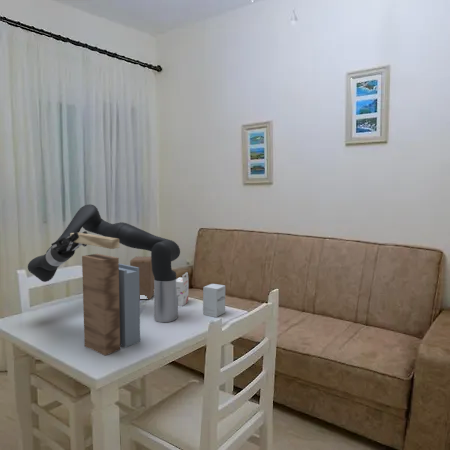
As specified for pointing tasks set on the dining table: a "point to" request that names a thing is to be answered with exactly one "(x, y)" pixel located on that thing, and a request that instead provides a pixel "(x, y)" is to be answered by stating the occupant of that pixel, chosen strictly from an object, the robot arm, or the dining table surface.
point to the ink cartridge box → (182, 289)
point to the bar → (97, 240)
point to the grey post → (129, 305)
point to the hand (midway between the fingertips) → (81, 234)
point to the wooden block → (144, 275)
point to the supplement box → (214, 300)
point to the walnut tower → (101, 303)
